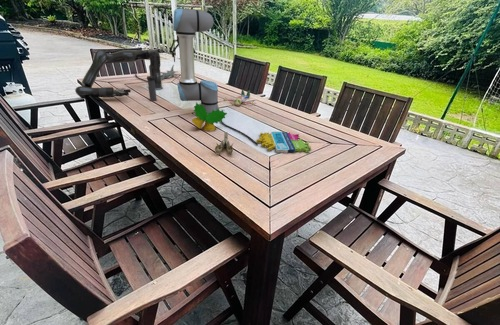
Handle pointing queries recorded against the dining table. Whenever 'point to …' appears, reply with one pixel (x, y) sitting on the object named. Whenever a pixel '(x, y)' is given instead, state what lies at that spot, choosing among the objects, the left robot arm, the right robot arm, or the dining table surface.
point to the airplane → (168, 74)
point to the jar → (152, 90)
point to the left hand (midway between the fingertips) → (129, 92)
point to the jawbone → (224, 145)
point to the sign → (283, 142)
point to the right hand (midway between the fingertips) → (183, 62)
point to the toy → (241, 99)
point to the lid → (150, 78)
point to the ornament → (207, 117)
